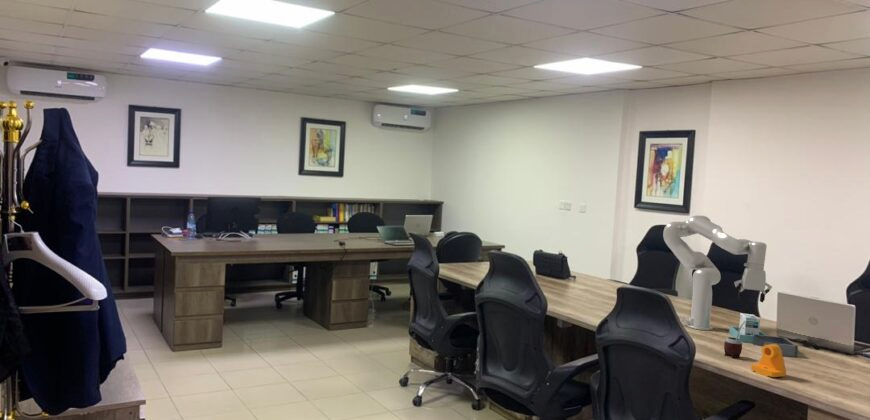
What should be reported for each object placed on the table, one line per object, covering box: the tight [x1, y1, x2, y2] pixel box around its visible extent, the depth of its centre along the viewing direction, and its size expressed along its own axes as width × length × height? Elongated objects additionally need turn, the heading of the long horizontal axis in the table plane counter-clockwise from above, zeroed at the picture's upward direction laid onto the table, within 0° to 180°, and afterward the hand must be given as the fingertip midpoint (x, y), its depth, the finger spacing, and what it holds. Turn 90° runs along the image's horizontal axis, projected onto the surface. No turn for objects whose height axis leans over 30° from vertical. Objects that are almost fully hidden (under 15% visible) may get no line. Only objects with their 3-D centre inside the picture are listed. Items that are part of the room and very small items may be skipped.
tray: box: [728, 325, 769, 344], centre depth 311 cm, size 14×18×4 cm
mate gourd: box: [723, 322, 744, 359], centre depth 275 cm, size 8×8×15 cm
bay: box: [752, 334, 799, 358], centre depth 290 cm, size 14×16×5 cm
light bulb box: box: [738, 312, 761, 336], centre depth 311 cm, size 11×7×11 cm, turn 169°
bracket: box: [750, 344, 787, 378], centre depth 251 cm, size 11×7×12 cm, turn 25°
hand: (750, 300), depth 310 cm, fingers open, 9 cm apart
